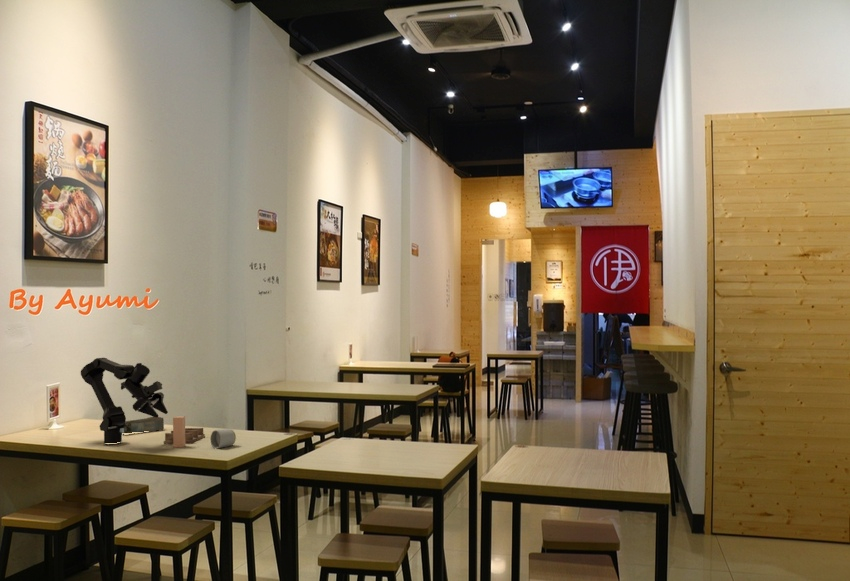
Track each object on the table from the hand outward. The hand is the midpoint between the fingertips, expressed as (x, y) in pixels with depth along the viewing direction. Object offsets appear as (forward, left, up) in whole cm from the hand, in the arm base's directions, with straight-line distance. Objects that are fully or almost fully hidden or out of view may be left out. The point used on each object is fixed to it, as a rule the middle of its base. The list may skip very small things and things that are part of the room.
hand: (162, 415), depth 295 cm
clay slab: (+7, -3, -13) cm, 15 cm away
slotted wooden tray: (+9, +11, -13) cm, 20 cm away
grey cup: (+23, -10, -14) cm, 29 cm away
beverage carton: (-11, +42, -14) cm, 45 cm away
